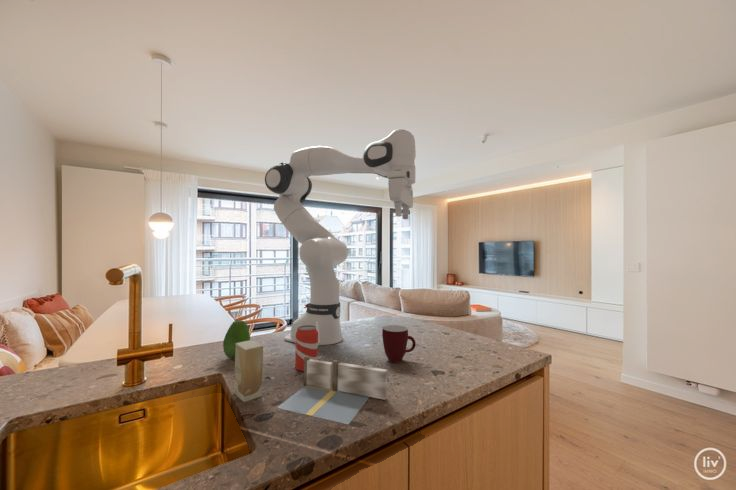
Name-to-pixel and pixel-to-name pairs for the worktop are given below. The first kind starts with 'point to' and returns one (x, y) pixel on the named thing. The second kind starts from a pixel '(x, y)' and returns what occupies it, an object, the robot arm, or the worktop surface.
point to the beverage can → (306, 345)
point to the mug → (396, 342)
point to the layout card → (325, 404)
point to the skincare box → (248, 370)
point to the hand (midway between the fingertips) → (402, 217)
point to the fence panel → (362, 380)
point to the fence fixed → (321, 373)
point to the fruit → (235, 337)
